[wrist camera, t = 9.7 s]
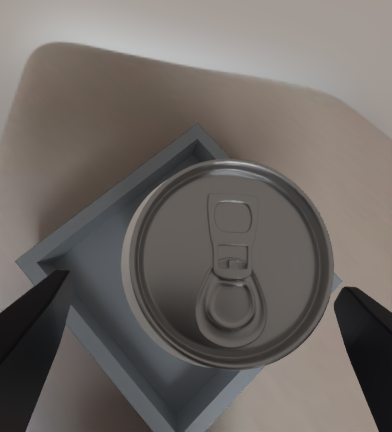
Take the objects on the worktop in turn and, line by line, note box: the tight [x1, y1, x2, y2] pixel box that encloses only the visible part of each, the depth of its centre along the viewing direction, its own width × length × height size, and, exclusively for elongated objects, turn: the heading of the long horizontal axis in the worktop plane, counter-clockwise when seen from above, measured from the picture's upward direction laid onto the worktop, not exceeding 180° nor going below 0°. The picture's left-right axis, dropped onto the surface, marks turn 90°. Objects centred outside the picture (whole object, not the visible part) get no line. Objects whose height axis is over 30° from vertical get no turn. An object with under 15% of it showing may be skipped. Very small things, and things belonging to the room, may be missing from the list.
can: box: [121, 159, 334, 371], centre depth 14 cm, size 6×6×12 cm
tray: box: [15, 123, 342, 432], centre depth 19 cm, size 14×14×3 cm
